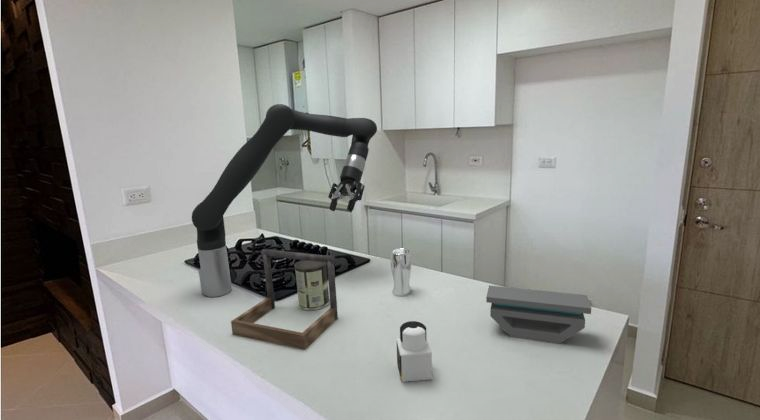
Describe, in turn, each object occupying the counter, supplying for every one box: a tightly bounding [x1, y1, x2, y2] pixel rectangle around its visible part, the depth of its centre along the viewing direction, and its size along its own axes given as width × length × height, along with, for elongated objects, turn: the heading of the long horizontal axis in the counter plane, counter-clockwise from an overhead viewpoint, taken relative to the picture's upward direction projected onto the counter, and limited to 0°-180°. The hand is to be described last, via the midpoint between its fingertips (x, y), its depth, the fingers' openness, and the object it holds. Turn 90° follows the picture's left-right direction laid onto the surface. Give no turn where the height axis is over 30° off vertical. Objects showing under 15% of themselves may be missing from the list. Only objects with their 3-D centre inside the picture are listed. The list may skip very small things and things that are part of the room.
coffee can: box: [294, 260, 330, 311], centre depth 128 cm, size 10×10×14 cm
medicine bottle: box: [396, 320, 433, 383], centre depth 91 cm, size 7×7×12 cm
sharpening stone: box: [485, 285, 592, 345], centre depth 105 cm, size 25×8×11 cm, turn 70°
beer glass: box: [390, 247, 412, 297], centre depth 134 cm, size 7×7×15 cm
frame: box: [230, 248, 339, 350], centre depth 114 cm, size 18×25×20 cm
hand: (340, 210), depth 138 cm, fingers open, 8 cm apart
